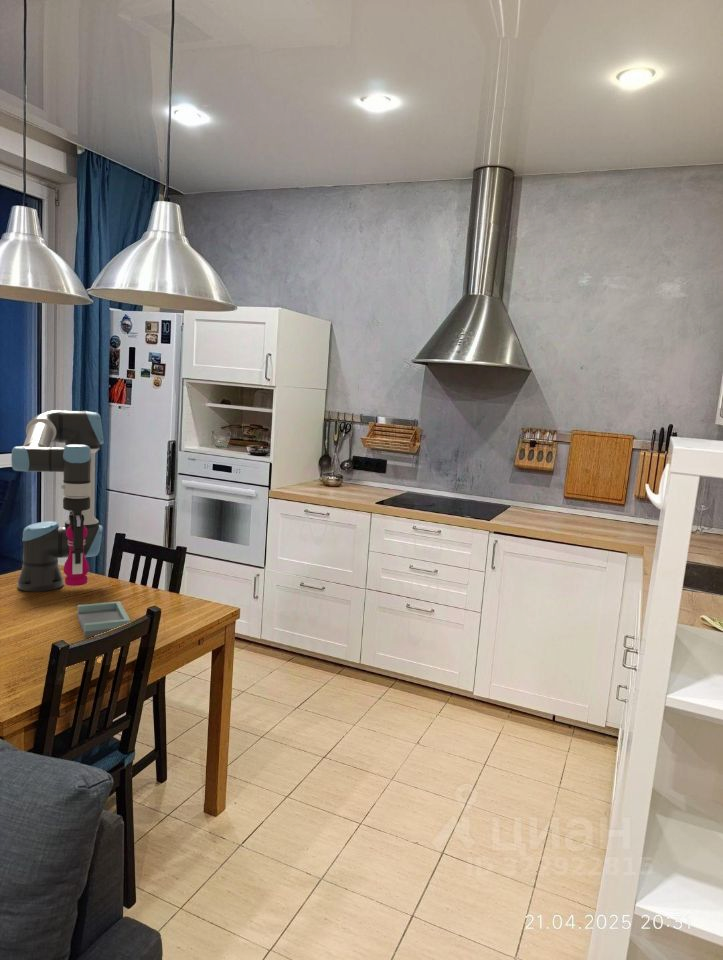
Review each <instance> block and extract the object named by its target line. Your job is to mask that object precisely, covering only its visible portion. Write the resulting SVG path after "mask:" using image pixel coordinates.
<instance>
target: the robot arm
mask: <svg viewBox="0 0 723 960" xmlns="http://www.w3.org/2000/svg"><path fill="white" fill-rule="evenodd" d="M103 432H104V431H103V425H102V419H101V415H100V414H99V413H98V412H95V411H94V412H93V411H88V410H81V411H80V410H59V409H58V410H57V409H55V410H48V411H45V412H42V413H39V414H37V415H35V416H34V417H33V418H30V420H29V422H28V423H27V425H26V427H25V437H26V438H25V440H24V443H23V445H21V446H14V447H13V448H12V450H11V457H10V458H11V459H10V460H11V468H12V470H13V471H16V472H24V473H27V472H31V473H32V472H34V473H36V472H39V473H40V472H41V473H43V472H47V473H48V472H53V473H62V474H63V480H62V482H63V485H61V486H60V488H61V489H63V491H62V492H63V493H62V494H63V496H64V497H62V509H63V510H65V511H68V512H69V513H68V518H67V519H66V520H65V521H64V525H59V522H58V521H42V522H41V521H40V522H36V523H31V524H29V525H27V526H25V527H24V528H23V531H22V538H21V539H22V540H21V541H22V568H21V571H20V573H19V576H18V579H17V588H18V590H20V591H25V592H32V593H33V592H34V593H35V592H47V591H52V590H57V589H59V588H61V587H62V586H64V577H63V574H62V571H61V569H60V566H59V559H60V558H61V559H63V558H65V559H66V558H68V556H69V550H70V549H69V545H68V540H69V538H68V537H67V536H66V530H67V528H68V527H69V526H70V525H71V530H72V531H73V551H71V554H73V561H72V574H82V562H83V551H84V555H85V558H86V559H87V558H89V557H97V556H98V555H99V553H100V548H101V544H102V543H101V542H102V538H103V537H102V535H103V529H104V527H103V525H101V524H100V523H99V522H100V521H99V519H97V518H96V517H95V506H96V505H95V503H96V502H95V500H96V499H95V498H96V497H95V493H96V491H95V489H96V486H95V485H96V453H97V452H98V451H99V450H100V446H101V445H103V444H104V442H105V441H104V434H103ZM52 443H61V444H63V443H64V444H65V445H64V447H51V445H52ZM84 526H85V527H86V528H87V536H86V537H85V538H84V539H85V540H86V541H85V543H86V544H85V545H84V550H83V529H84ZM77 548H79V549H77Z"/></svg>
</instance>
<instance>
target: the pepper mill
mask: <svg viewBox="0 0 723 960" xmlns="http://www.w3.org/2000/svg"><path fill="white" fill-rule="evenodd" d="M66 536H67V537H68V538H69V540H68V545H69V549H70V550H69V556H68V557H66V558H67V559H66V561H65V563H64V564H63V573H64V575H66V577H65V578H64V584H65V585H66V586H71V587H72V586H73V587H76V586H77V587H79V586H84V585H86V584H87V583H88V576H87V574H88V573H89V571H90V565H89V562H88V560H87V557H86V558H85V555H84V551H83V562H82V574H72V561H73V554H71V551H73V531H72V530H71V525H70V526H69V527H68V528H67V530H66ZM86 536H87V528H86V527H85V526H84V529H83V550H84V545H85V544H86V543H85V541H86V540H85V539H84V538H85V537H86ZM77 549H79V548H77Z"/></svg>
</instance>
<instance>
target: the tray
mask: <svg viewBox="0 0 723 960" xmlns="http://www.w3.org/2000/svg"><path fill="white" fill-rule="evenodd" d="M77 619H79V620H78V621H79V625H80V628H81V630H83V631H82V633H84V634H83V636H85V637H84V639H86V638H93V637H92V636H95V635H98V634H101V633H104V632H107V631H109V630H111V629H114V628H117V627H119V626H122V625H124V624H127V623H129V622H130V623H131V619H130V617H129V615H128V614H127V611H126V610H125V608H124V607H123V604H122V602H121V601H120V600H119V601H108V602H95V603H90V604H88V603H87V604H78V605H77Z"/></svg>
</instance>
